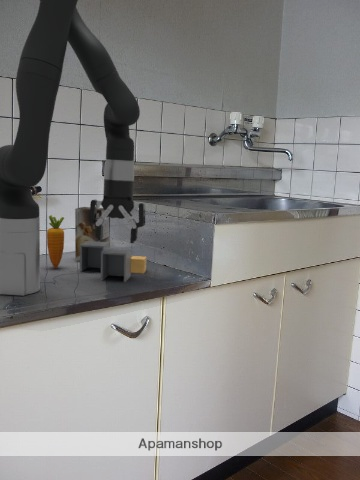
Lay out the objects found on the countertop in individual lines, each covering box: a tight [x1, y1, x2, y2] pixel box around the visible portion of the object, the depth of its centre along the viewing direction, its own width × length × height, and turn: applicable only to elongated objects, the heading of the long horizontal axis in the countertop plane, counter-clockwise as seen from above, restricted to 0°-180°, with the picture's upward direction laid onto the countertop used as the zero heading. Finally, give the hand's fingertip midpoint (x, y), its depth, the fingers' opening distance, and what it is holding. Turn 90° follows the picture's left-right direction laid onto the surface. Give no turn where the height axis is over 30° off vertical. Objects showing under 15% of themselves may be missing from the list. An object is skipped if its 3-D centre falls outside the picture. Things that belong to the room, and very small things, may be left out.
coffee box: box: [74, 206, 111, 262], centre depth 149 cm, size 9×6×16 cm
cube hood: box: [100, 247, 132, 283], centre depth 129 cm, size 6×6×8 cm
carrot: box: [46, 214, 65, 269], centre depth 137 cm, size 5×5×15 cm
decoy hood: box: [79, 241, 109, 273], centre depth 138 cm, size 6×6×8 cm
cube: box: [131, 255, 147, 274], centre depth 138 cm, size 4×4×4 cm
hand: (116, 241), depth 127 cm, fingers open, 8 cm apart
